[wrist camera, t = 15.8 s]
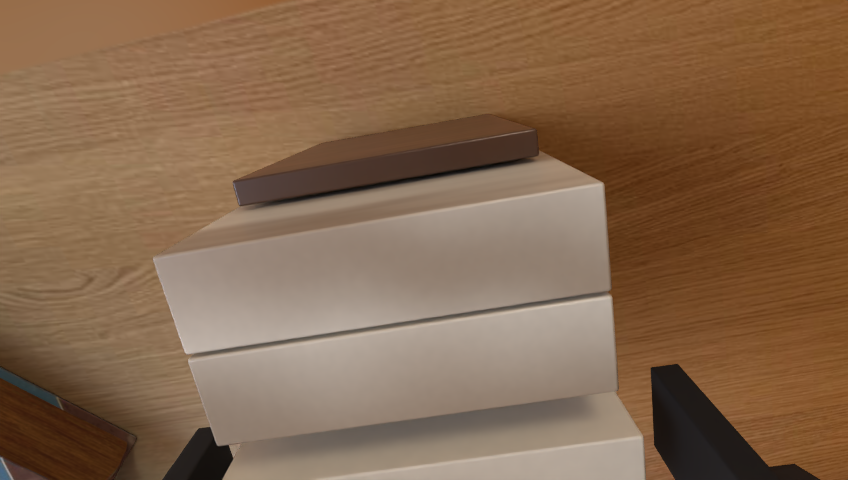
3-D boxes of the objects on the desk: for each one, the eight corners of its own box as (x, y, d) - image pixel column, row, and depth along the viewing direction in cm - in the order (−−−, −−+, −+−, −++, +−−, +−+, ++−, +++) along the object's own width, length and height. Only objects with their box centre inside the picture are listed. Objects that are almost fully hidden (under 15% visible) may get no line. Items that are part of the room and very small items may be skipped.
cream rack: (310, 145, 26) (135, 215, 11) (498, 111, 25) (602, 136, 10) (357, 343, 29) (275, 618, 14) (524, 318, 29) (632, 577, 13)
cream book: (332, 275, 28) (213, 493, 13) (524, 245, 27) (645, 436, 12) (342, 315, 29) (239, 567, 13) (529, 286, 28) (649, 517, 13)
